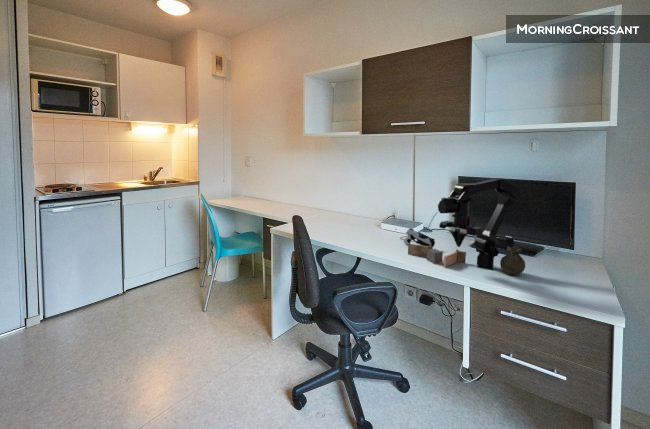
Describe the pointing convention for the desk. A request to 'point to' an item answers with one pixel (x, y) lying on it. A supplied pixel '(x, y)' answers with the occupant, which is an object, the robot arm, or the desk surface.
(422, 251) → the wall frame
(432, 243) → the toy gun
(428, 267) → the desk surface
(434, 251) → the block
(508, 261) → the drawstring pouch
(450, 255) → the door
